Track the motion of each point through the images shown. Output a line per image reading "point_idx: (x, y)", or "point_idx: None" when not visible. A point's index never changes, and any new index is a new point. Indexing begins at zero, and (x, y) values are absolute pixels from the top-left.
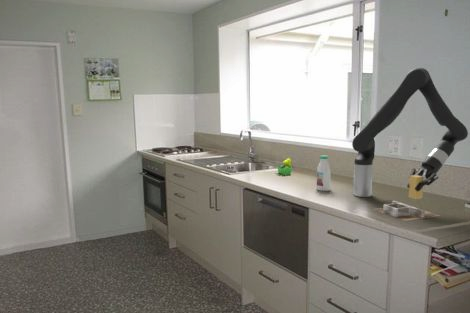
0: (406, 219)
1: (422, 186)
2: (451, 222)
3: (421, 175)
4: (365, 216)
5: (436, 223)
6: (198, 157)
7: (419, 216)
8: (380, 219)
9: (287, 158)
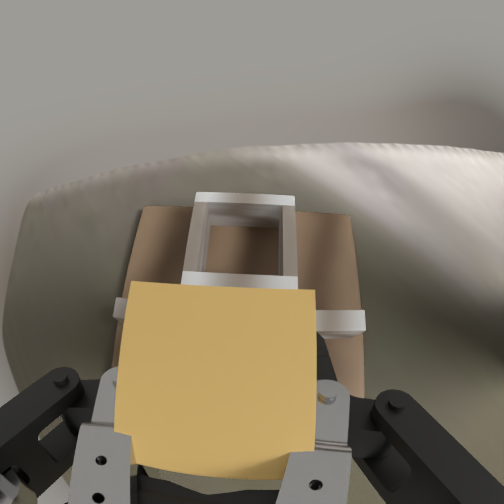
0: (151, 228)
1: None
2: None
3: (196, 499)
4: (288, 157)
5: (75, 325)
6: None
7: None
8: (232, 174)
9: None
